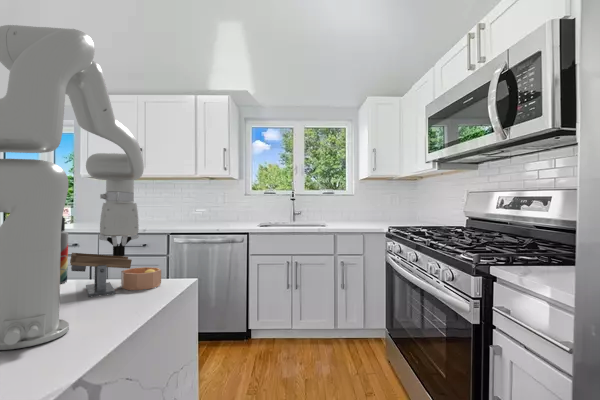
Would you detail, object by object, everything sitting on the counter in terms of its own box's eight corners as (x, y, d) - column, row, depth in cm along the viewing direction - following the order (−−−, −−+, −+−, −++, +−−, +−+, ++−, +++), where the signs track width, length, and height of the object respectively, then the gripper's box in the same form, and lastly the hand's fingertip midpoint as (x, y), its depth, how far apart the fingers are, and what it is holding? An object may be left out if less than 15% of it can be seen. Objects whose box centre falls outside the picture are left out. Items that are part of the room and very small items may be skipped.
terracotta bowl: (164, 287, 100) (164, 271, 100) (124, 292, 94) (124, 275, 95) (156, 280, 109) (156, 266, 109) (118, 284, 103) (119, 269, 103)
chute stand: (115, 293, 92) (115, 265, 93) (88, 297, 89) (89, 267, 89) (109, 285, 102) (110, 259, 102) (85, 287, 99) (86, 261, 99)
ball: (141, 278, 100) (151, 287, 101) (151, 267, 101) (161, 276, 103) (138, 275, 103) (148, 284, 105) (149, 265, 105) (158, 274, 106)
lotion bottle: (67, 283, 103) (68, 216, 104) (43, 286, 100) (45, 216, 100) (67, 280, 108) (68, 215, 108) (44, 282, 105) (45, 215, 105)
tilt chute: (129, 274, 97) (131, 259, 97) (69, 271, 89) (72, 255, 89) (121, 266, 109) (123, 253, 109) (68, 263, 101) (71, 249, 102)
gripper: (92, 197, 99) (90, 262, 99) (148, 198, 107) (147, 258, 107) (90, 198, 105) (89, 259, 105) (143, 199, 114) (142, 255, 113)
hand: (118, 258), depth 106 cm, fingers closed
